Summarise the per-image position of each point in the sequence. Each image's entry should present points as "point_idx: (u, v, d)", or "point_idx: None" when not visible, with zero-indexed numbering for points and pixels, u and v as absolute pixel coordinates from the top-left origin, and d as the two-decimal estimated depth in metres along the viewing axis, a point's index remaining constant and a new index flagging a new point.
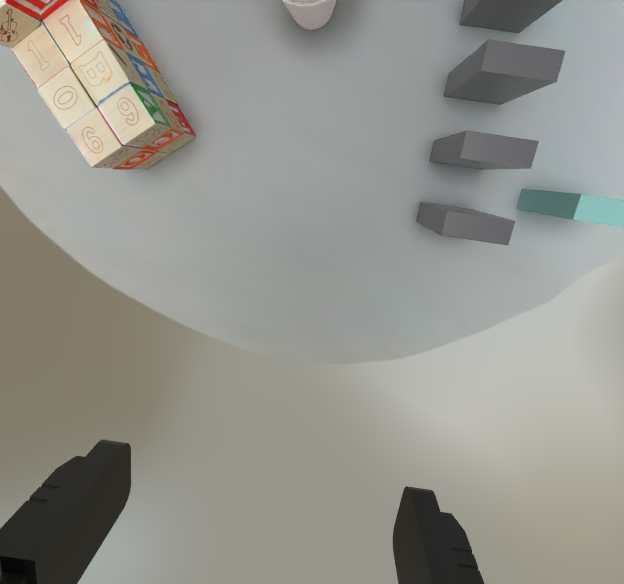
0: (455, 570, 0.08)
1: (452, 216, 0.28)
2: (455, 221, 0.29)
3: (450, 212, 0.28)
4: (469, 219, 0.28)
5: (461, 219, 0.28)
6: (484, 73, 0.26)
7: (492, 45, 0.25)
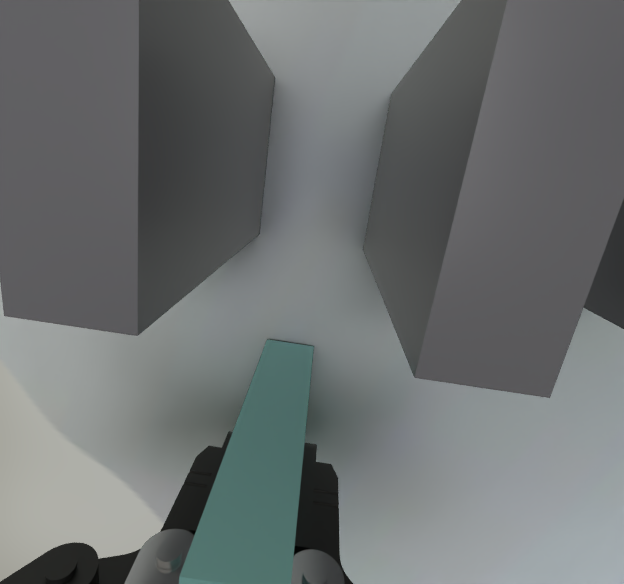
0: (309, 504, 0.10)
1: None
2: None
3: None
4: (105, 54, 0.04)
5: None
6: None
7: None
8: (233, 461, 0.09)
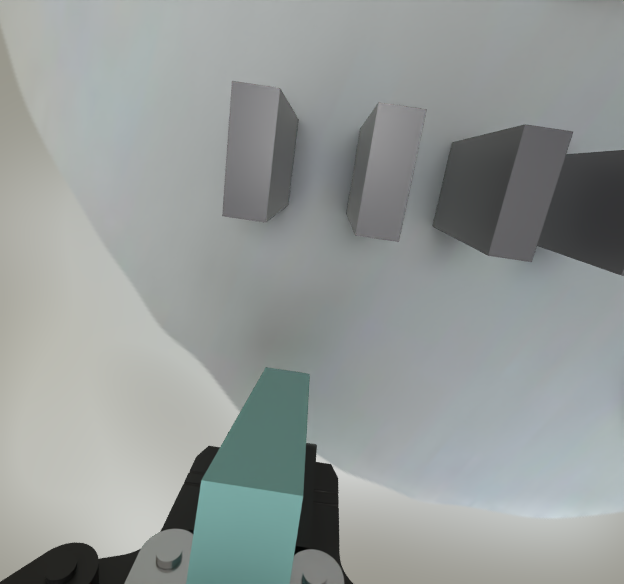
0: (309, 504, 0.10)
1: (270, 100, 0.15)
2: (260, 107, 0.15)
3: (277, 95, 0.15)
4: (265, 136, 0.15)
5: (264, 119, 0.15)
6: (515, 138, 0.15)
7: (562, 140, 0.14)
8: (242, 426, 0.09)
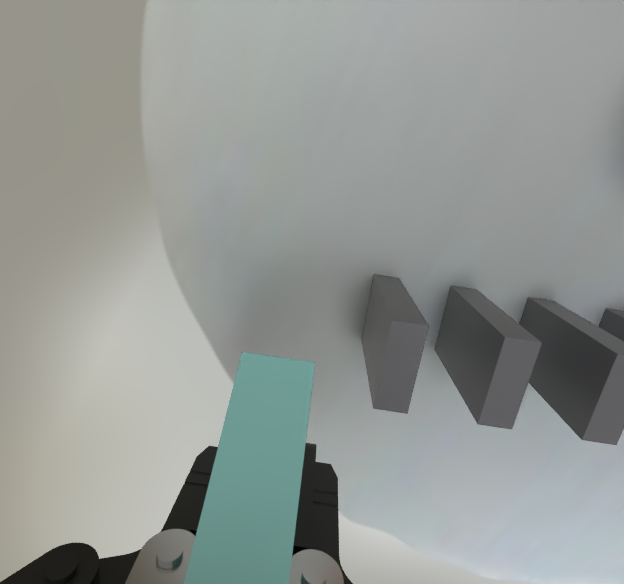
0: (309, 504, 0.10)
1: (420, 333, 0.19)
2: (412, 338, 0.19)
3: (426, 330, 0.19)
4: (413, 356, 0.19)
5: (414, 346, 0.19)
6: (607, 357, 0.19)
7: None
8: None
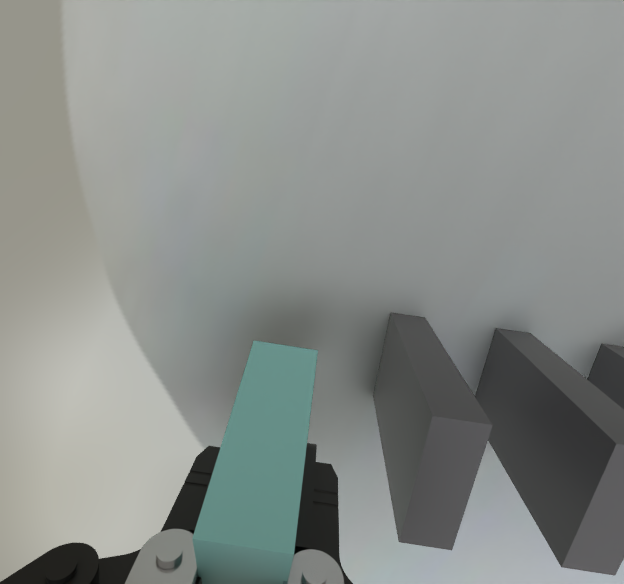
0: (309, 504, 0.10)
1: (477, 436, 0.12)
2: (464, 443, 0.12)
3: (487, 431, 0.12)
4: (465, 470, 0.12)
5: (467, 454, 0.12)
6: None
7: None
8: None
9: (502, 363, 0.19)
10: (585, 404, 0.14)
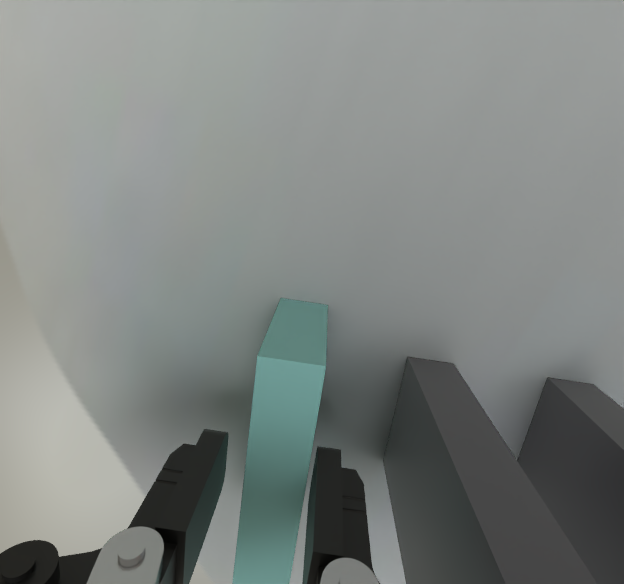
0: (339, 511, 0.09)
1: None
2: None
3: None
4: None
5: None
6: None
7: None
8: None
9: (560, 429, 0.14)
10: None
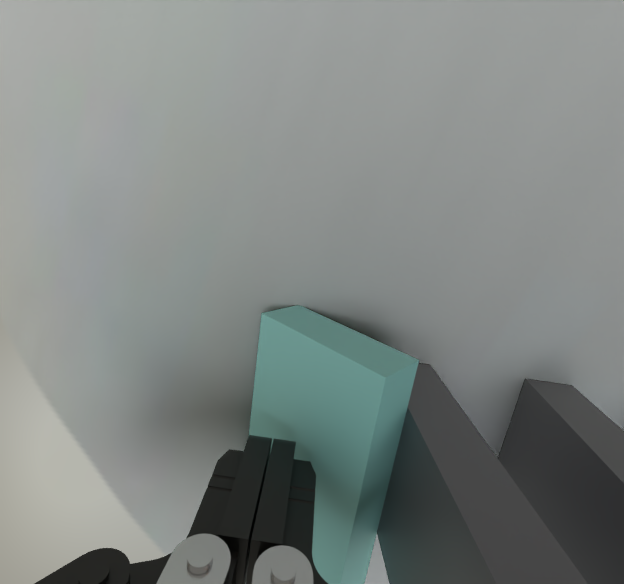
0: (284, 500, 0.10)
1: None
2: None
3: None
4: None
5: None
6: None
7: None
8: None
9: (537, 432, 0.14)
10: None
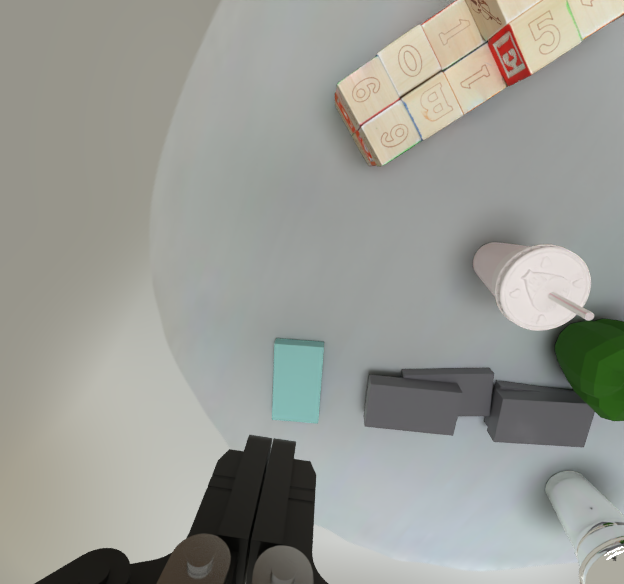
0: (284, 500, 0.10)
1: None
2: None
3: None
4: None
5: None
6: (590, 407, 0.38)
7: None
8: (274, 365, 0.40)
9: None
10: (470, 372, 0.40)
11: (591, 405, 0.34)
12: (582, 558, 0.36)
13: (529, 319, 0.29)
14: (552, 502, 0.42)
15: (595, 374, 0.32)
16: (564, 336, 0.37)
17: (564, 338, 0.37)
